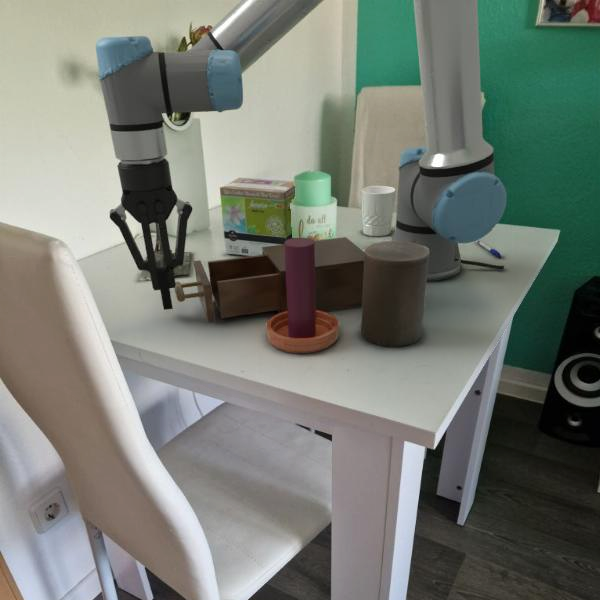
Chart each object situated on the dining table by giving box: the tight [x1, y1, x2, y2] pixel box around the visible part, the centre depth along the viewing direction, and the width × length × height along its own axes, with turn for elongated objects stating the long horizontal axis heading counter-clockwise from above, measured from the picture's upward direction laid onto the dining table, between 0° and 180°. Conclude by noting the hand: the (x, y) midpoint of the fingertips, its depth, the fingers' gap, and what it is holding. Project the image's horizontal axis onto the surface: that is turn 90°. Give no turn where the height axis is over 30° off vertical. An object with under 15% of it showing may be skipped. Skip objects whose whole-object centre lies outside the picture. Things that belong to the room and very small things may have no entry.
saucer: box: [265, 310, 340, 354], centre depth 89 cm, size 11×11×2 cm
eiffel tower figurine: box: [138, 223, 192, 282], centre depth 116 cm, size 15×10×13 cm
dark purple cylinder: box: [284, 237, 316, 338], centre depth 85 cm, size 4×4×15 cm
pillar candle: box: [360, 240, 429, 348], centre depth 86 cm, size 10×10×15 cm
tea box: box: [219, 177, 295, 257], centre depth 122 cm, size 15×10×15 cm, turn 70°
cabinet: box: [262, 236, 364, 314], centre depth 101 cm, size 16×13×8 cm
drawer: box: [173, 254, 281, 324], centre depth 97 cm, size 20×12×7 cm, turn 106°
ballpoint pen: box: [477, 240, 502, 259], centre depth 122 cm, size 10×1×1 cm, turn 11°
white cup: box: [361, 185, 397, 237], centre depth 133 cm, size 8×8×10 cm
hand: (167, 306), depth 96 cm, fingers closed
